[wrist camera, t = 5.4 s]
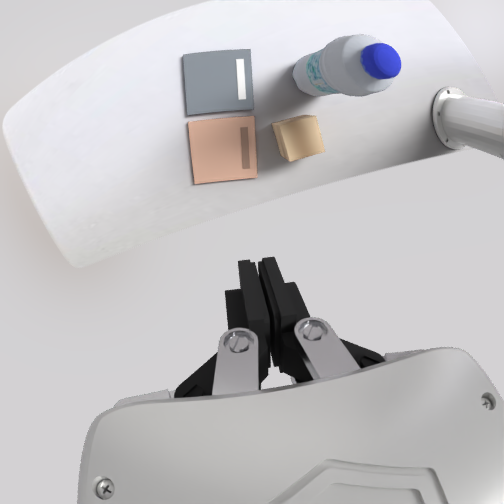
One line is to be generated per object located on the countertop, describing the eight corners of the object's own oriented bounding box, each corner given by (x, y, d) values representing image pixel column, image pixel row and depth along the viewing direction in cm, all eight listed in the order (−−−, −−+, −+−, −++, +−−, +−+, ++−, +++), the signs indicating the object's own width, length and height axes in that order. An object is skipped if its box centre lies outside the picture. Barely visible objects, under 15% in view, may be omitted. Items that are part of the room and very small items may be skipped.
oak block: (303, 114, 36) (315, 115, 31) (312, 146, 38) (325, 151, 34) (271, 123, 36) (279, 125, 32) (281, 155, 38) (290, 161, 34)
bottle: (311, 107, 35) (391, 113, 18) (278, 75, 32) (338, 48, 15) (340, 79, 33) (432, 71, 16) (309, 47, 30) (386, 10, 13)
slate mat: (249, 50, 30) (250, 49, 29) (253, 109, 35) (254, 109, 34) (183, 55, 29) (183, 54, 29) (187, 115, 34) (187, 115, 33)
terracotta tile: (253, 116, 35) (254, 116, 34) (256, 176, 39) (257, 177, 39) (188, 121, 34) (188, 122, 34) (194, 182, 39) (194, 184, 38)
